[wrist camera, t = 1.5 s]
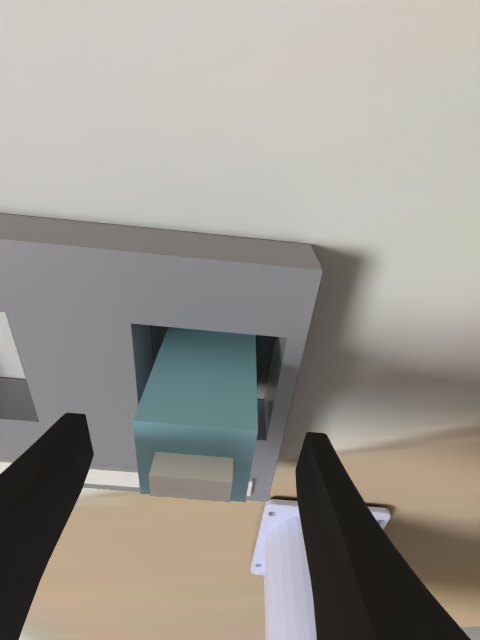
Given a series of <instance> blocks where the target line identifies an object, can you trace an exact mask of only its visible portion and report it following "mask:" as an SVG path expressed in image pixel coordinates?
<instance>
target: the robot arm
mask: <svg viewBox="0 0 480 640" xmlns="http://www.w3.org/2000/svg"><path fill="white" fill-rule="evenodd" d="M93 456H94V452H93V448H92V443H91V438H90V433H89V429H88V424H87V419H86V414H79V413H67V412H66V413H65V414H64V415H63V416H62V417H61V418H60V419H58V420H57V421H56V422H55V423H54V424H53V425H52V426H51V427H50V428H49V429H48V430H47V431H46V432H45V433H44V434H43V435H42V436H41V437H40V438H39V439H38V440H37V441H36V442H35V443H33V444H32V445H31V446H30V447H29V448H28V449H27V450H26V451H25V452H24V453H23V454H22V455H21V456H19V457H18V458H17V459H16V460H15V461H14V462H13V463H12V464H11V465H10V466H8V467H7V468H6V469H5V470H4V471H3V472H2V473H1V474H0V640H19V637H20V634H21V631H22V628H23V625H24V623H25V620H26V617H27V614H28V612H29V609H30V606H31V604H32V601H33V598H34V596H35V593H36V590H37V587H38V585H39V582H40V580H41V577H42V575H43V572H44V570H45V568H46V565H47V563H48V561H49V559H50V557H51V555H52V552H53V550H54V548H55V546H56V544H57V542H58V540H59V538H60V535H61V533H62V531H63V529H64V527H65V525H66V523H67V521H68V518H69V516H70V514H71V512H72V510H73V508H74V506H75V503H76V501H77V499H78V497H79V495H80V493H81V490H82V488H83V486H84V483H85V480H86V477H87V474H88V471H89V468H90V465H91V462H92V459H93ZM296 488H297V501H291V500H278V499H271V500H268V502H266V503H265V507H264V511H263V516H262V520H261V524H260V528H259V533H258V537H257V541H256V545H255V550H254V554H253V558H252V563H251V572H252V573H253V574H258V575H264V595H265V628H266V640H471V639H470V638H469V637H468V636H467V635H466V634H465V632H464V631H463V630H462V629H461V628H460V627H459V626H458V624H457V623H456V622H455V621H454V620H453V619H452V617H451V616H450V615H449V614H448V613H447V612H446V610H445V609H444V608H443V607H442V606H441V605H440V603H439V602H438V601H437V600H436V599H435V598H434V596H433V595H432V594H431V593H430V592H429V590H428V589H427V588H426V587H425V585H424V584H423V583H422V582H421V580H420V579H419V578H418V577H417V575H416V574H415V573H414V572H413V570H412V569H411V568H410V566H409V565H408V564H407V562H406V561H405V560H404V558H403V557H402V556H401V555H400V553H399V552H398V550H397V549H396V548H395V546H394V545H393V544H392V542H391V541H390V539H389V538H388V536H387V535H386V534H385V532H384V531H383V529H384V528H385V526H386V524H387V523H388V521H389V519H390V517H391V515H390V512H389V510H388V509H386V508H381V507H369V506H367V505H366V503H365V502H364V500H363V498H362V497H361V495H360V494H359V492H358V490H357V489H356V487H355V485H354V484H353V482H352V480H351V479H350V477H349V475H348V473H347V472H346V470H345V468H344V466H343V465H342V463H341V461H340V459H339V457H338V455H337V454H336V452H335V450H334V448H333V446H332V444H331V442H330V440H329V438H328V436H327V435H326V434H325V433H313V432H307V433H306V436H305V439H304V443H303V446H302V450H301V453H300V457H299V460H298V463H297V467H296Z"/></svg>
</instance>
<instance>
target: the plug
mask: <svg viewBox="0 0 480 640" xmlns="http://www.w3.org/2000/svg"><path fill="white" fill-rule="evenodd" d="M133 429H134V439H135V448H136V458H137V467H138V477H139V486H140V494H150V496H161V497H173V498H186V499H199V500H212V501H225V502H230V501H241V502H245V501H246V495H247V490H248V484H249V479H250V473H251V467H252V462H253V456H254V451H255V445H256V439H257V434H258V412H257V371H256V335H252V334H241V333H230V332H219V331H208V330H197V329H186V328H175V327H168V328H167V331H166V334H165V336H164V339H163V342H162V344H161V347H160V350H159V352H158V355H157V358H156V360H155V363H154V365H153V368H152V371H151V373H150V376H149V379H148V381H147V384H146V387H145V389H144V392H143V395H142V397H141V400H140V402H139V405H138V408H137V410H136V413H135V416H134V418H133Z"/></svg>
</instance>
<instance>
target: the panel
mask: <svg viewBox="0 0 480 640" xmlns="http://www.w3.org/2000/svg"><path fill="white" fill-rule="evenodd" d="M322 272H323V269H322V267H321V265H320V263H319V261H318V258H317V256H316V254H315V252H314V250H313V248H312V245H311V244H304V243H294V242H284V241H274V240H264V239H254V238H244V237H234V236H224V235H214V234H203V233H193V232H183V231H173V230H163V229H153V228H143V227H133V226H123V225H113V224H103V223H93V222H83V221H72V220H62V219H52V218H42V217H32V216H22V215H12V214H2V213H0V312H5V313H6V316H7V319H8V323H9V326H10V329H11V332H12V335H13V339H14V342H15V345H16V348H17V351H18V355H19V358H20V361H21V364H22V367H23V371H24V374H25V377H26V380H24V379H13V378H1V377H0V474H1V473H2V472H3V471H4V470H5V469H6V468H7V467H8V466H10V465H11V464H12V463H13V462H14V461H15V460H16V459H17V458H18V457H19V456H21V455H22V454H23V453H24V452H25V451H26V450H27V449H28V448H29V447H30V446H31V445H32V444H33V443H35V442H36V441H37V440H38V439H39V438H40V437H41V436H42V435H43V434H44V433H45V432H46V431H47V430H48V429H49V428H50V427H51V426H52V425H53V424H54V423H55V422H56V421H57V420H58V419H60V418H61V417H62V416H63V415H64V414H65V413H66V412H67V413H79V414H86V419H87V424H88V429H89V433H90V438H91V443H92V448H93V452H94V456H93V459H92V462H91V465H90V468H89V471H88V474H87V477H86V480H85V483H84V486H83V487H84V488H97V489H110V490H123V491H136V492H140V486H139V477H138V467H137V458H136V448H135V439H134V429H133V418H134V416H135V413H136V410H137V408H138V405H139V402H140V400H141V397H142V395H143V392H144V389H145V387H146V384H147V381H148V379H149V376H150V373H151V371H152V368H153V364H152V345H151V326H150V325H153V326H164V327H175V328H186V329H197V330H208V331H219V332H230V333H241V334H252V335H263V336H274V337H276V338H275V344H274V349H273V355H272V360H271V366H270V371H269V377H268V382H267V388H266V393H265V399H264V400H258V399H257V412H258V434H257V439H256V445H255V451H254V456H253V462H252V467H251V473H250V479H249V484H248V490H247V495H246V500H252V501H265V502H268V498H269V494H270V490H271V486H272V481H273V477H274V473H275V469H276V465H277V461H278V456H279V452H280V448H281V444H282V440H283V435H284V431H285V427H286V423H287V419H288V415H289V410H290V406H291V402H292V398H293V394H294V389H295V385H296V381H297V377H298V373H299V368H300V364H301V360H302V356H303V352H304V348H305V343H306V339H307V335H308V331H309V327H310V322H311V318H312V314H313V310H314V306H315V302H316V297H317V293H318V289H319V285H320V281H321V276H322Z"/></svg>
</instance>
